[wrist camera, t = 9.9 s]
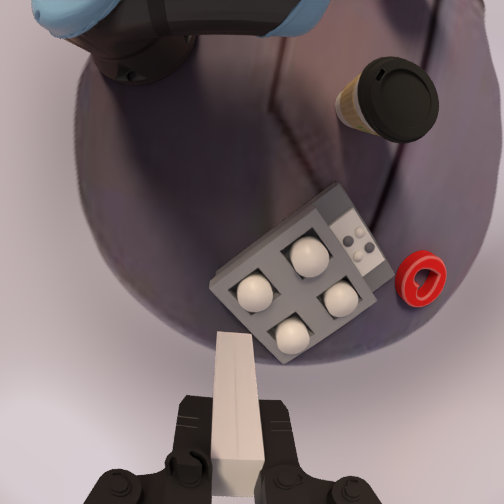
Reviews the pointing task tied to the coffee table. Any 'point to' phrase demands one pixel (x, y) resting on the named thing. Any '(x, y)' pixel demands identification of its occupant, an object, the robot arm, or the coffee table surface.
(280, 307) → the board
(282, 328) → the outer button
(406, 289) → the decorative ornament
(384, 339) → the coffee table surface
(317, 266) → the inner button
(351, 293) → the outer button
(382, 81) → the coffee cup
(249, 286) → the inner button
